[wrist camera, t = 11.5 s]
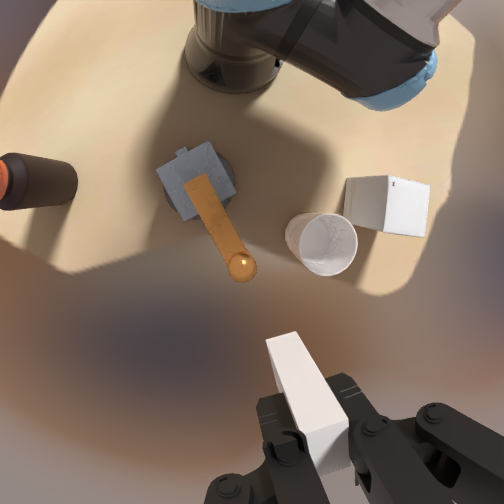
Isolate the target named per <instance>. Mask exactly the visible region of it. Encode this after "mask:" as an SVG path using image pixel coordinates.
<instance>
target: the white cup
mask: <svg viewBox="0 0 504 504" xmlns="http://www.w3.org/2000/svg"><path fill="white" fill-rule="evenodd" d="M285 241H286V243H287V246H288V248H289V249H290V250H291V251H292V253H293V254H294V255H295V256H296V257H297V259H298V260H299V261H300V262H302V263H303V264H304V265H305V266H306V267H307V268H308V269H309V270H310V271H311V272H313V273H315V274H317V275H320V276H333V275H336V274H339V273H341V272H342V271H344V270H345V269H346V268H347V267H348V266H349V265H350V264H351V262H352V261H353V259H354V257H355V255H356V251H357V245H358V241H357V235H356V231H355V229H354V227H353V226H352V224H351V223H350V222H349V221H348V220H347V219H346V218H344V217H343V216H341V215H338V214H334V213H304V214H299V215H297V216H295V217H294V218H293V219H292V220H290V222H289V224H288V226H287V227H286V229H285Z"/></svg>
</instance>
